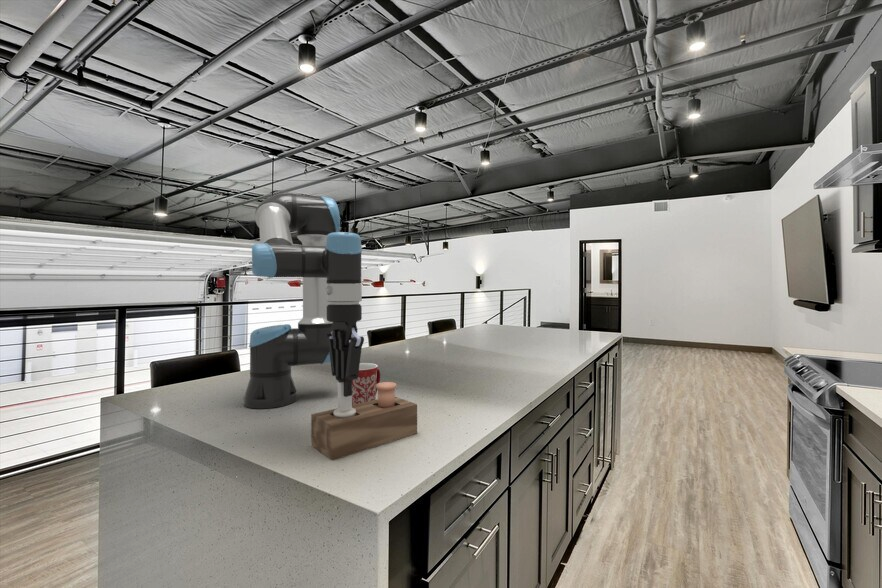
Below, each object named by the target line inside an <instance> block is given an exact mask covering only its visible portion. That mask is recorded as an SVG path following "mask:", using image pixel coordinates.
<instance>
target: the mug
mask: <svg viewBox="0 0 882 588" xmlns="http://www.w3.org/2000/svg"><path fill="white" fill-rule="evenodd" d="M378 383H381V371H380V368H379V365H378V364H376V363H371V362H370V363H369V362H367V363H366V362H360V365H359V373H358V378H357V379H354V380H352V405H355V404H359V403H364V402H368V401H373V400H377V398H376V396H377V394H378V389H376V384H378Z"/></svg>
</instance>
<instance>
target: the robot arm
mask: <svg viewBox="0 0 882 588" xmlns="http://www.w3.org/2000/svg"><path fill="white" fill-rule="evenodd" d="M338 206H339V205H338V204H337V202H336V201H335V199H333V198H331V197H327V196H325V197H324V196H322V195H307V194H297V193H295V194H294V193H289V192H288V193H287V192H283V193H277V194H275V195H270V196H269V197H266V198H265V199H263V200H262V201H261V202H260V203H259V204H258V206H257V207H256V209H255V214H254V220H255V223H256V226H257V227H258V228H259V243H254V244H253V245H252V246H251V272H252V274H253V275H254V276H255V277H260V278H261V277H264V278H269V279H271V278H273V279H274V278H302V318H301V319H300V320H299V321H298V322H297V328H292V325H290V324H289V323H288V324H287V323H286V324H276V325H275V324H274V325H270V326H265V327H260V328H257V329H255V330H253V331H252V332H251V333H250V336H249V345H248V347H249V381H248V384H247V387H246V390H245V392H244V395H243V407H246V408H249V409H256V410H257V409H272V408H273V409H274V408H278V407H284V406H287V405H291V404H293V403H295V402H296V401H298V390H297V388H296V385H295V382H294V380H293V377H292V367H295V366H297V367H298V366H310V365H319V364H320V365H324V364H329V363H330V367H331V369H330V370H331V375H332V377H334V376H335V379H336V381H337V382H336V383H337V408H338V411H340V412H343V411H347V410H352V380H354V379H357V378H358V373H359V365H360V363H361V355H362V347H363V345H364V342H365V338H364V336H360V335H359V334H358V325H357V323H358V322H360V321H362V317H363V316H362V315H363V314H362V309H363V308H362V305H361V303H360V302H362V297H363V296H362V294H363V293H362V292H363V290H362V252H363V248H362V240H361V239H362V238H361V236H360V235H359V234H357V233H355V232H348V231H347V232H346V231H345V232H343V231H340V230H341V216H340V210H339V207H338ZM291 232H296V234H297V235H296V238H297V239H298V240H299V242H301V244H302V245H301V244H294V243H293V238H292V235H291V234H292V233H291Z"/></svg>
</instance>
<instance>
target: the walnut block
mask: <svg viewBox="0 0 882 588" xmlns="http://www.w3.org/2000/svg"><path fill="white" fill-rule="evenodd" d="M352 408H354V409H356V414H355V415H354V416H352V417H348V418H344V419H338V418H336V417H334V410H336V409H338V407H337V408H333V409H329V410H324V411H319V412H314V413H312V414H310V416H311V417H310V419H311V421H310V422H311V423H310V424H311V427H310V429H311V432H310V433H311V435H310V437H311V438H310V439H311V441H310V442H311V447H312V448H314V449H316V450H317V451H318V452H320V453H322V454H323V455H324V456H325V457H326V458H328V459H330V460H331V461H333V460H338V459H340V458H343V457H346V456H350V455H353V454H356V453H359V452H363V451H366V450H369V449H372V448H376V447H378V446H380V445H385V444H389V443H391V442H394V441H398V440H401V439H403V438H406V437H410V436H413V435H416V434H418V404H417V403H415V402H411V401H409V400H406V399H403V398H401V397H398V396H395V406H393V407H389V408H385V409H383V408H380V407H378V398H376V399H375V400H373V401H368V402H364V403H359V404H355V405H352Z"/></svg>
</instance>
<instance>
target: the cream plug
mask: <svg viewBox="0 0 882 588" xmlns="http://www.w3.org/2000/svg"><path fill="white" fill-rule="evenodd" d="M335 409H336V410H334V417H336V418H338V419H344V418H348V417H352V416H354V415H355V414H356V409H354V408H352V410H347V411H343V412H340V411H338V409H337V408H335Z"/></svg>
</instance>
